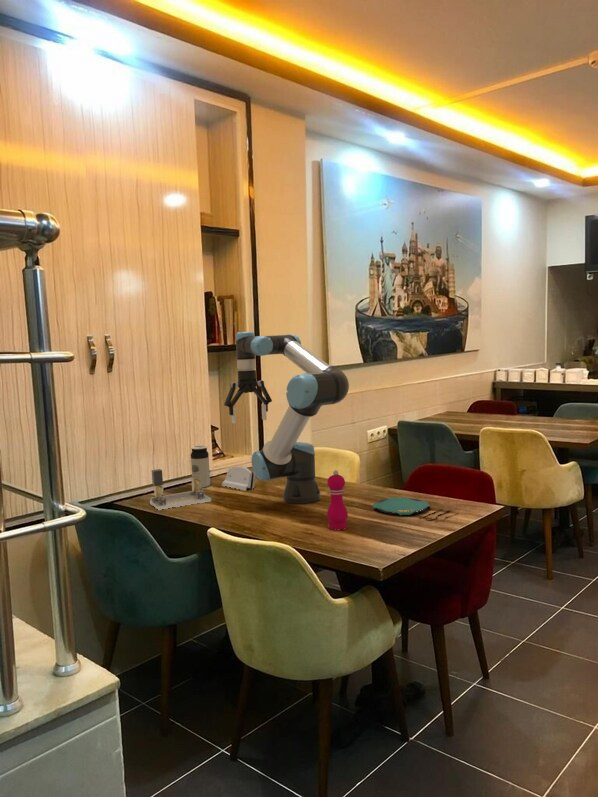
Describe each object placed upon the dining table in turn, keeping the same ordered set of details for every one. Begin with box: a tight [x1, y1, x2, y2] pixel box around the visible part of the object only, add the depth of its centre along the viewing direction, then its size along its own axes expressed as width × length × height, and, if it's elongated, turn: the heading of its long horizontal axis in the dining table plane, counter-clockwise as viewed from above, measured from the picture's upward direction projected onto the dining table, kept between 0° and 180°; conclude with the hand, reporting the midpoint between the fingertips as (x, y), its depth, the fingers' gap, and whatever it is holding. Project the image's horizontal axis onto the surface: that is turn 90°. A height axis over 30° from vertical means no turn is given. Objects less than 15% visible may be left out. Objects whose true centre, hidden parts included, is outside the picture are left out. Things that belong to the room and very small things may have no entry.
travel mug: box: [190, 444, 211, 488], centre depth 289 cm, size 8×8×18 cm
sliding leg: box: [151, 468, 164, 497], centre depth 258 cm, size 4×8×11 cm, turn 28°
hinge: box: [221, 466, 256, 491], centre depth 285 cm, size 17×5×10 cm, turn 46°
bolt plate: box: [149, 478, 212, 511], centre depth 261 cm, size 22×12×8 cm, turn 118°
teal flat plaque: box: [372, 496, 431, 516], centre depth 236 cm, size 20×30×2 cm, turn 44°
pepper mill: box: [326, 469, 349, 531], centre depth 219 cm, size 7×7×20 cm
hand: (249, 421), depth 263 cm, fingers open, 13 cm apart
